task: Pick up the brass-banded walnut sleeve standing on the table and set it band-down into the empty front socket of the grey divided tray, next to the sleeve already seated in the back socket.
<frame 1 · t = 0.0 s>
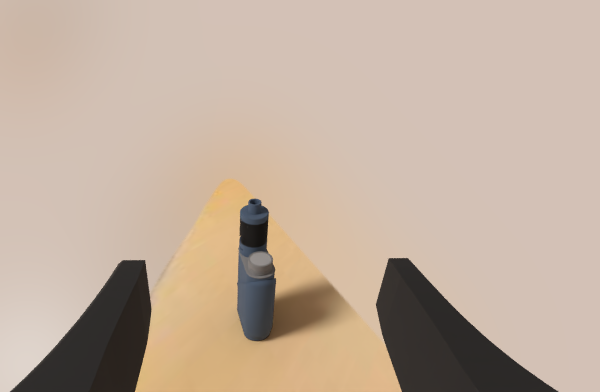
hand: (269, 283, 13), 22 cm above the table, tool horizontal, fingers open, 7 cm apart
vaping device: (253, 323, 42), on the table
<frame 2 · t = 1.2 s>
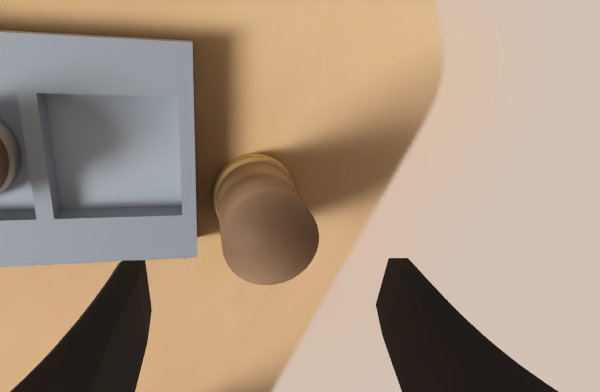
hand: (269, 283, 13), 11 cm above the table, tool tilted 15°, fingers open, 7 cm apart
sleeve: (253, 192, 24), on the table
grey divided tray: (51, 146, 21), on the table
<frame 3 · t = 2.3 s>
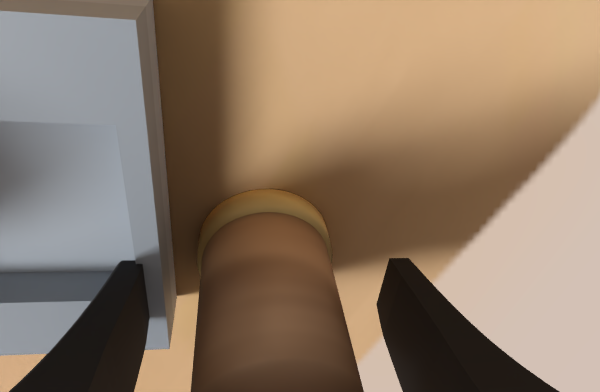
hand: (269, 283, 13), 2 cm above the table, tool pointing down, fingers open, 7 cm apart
sleeve: (264, 242, 15), on the table
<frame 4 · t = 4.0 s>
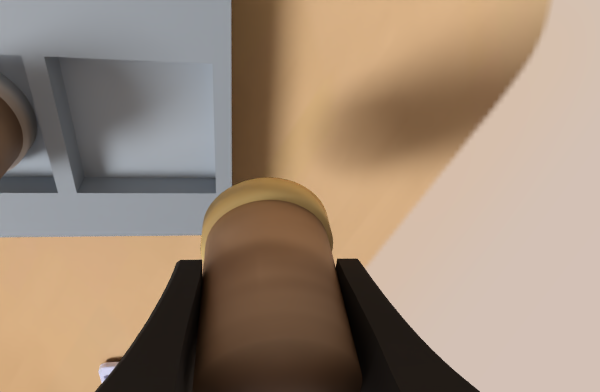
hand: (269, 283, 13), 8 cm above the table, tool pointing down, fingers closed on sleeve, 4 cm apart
sleeve: (266, 230, 15), point 6 cm above the table, touching gripper
grey divided tray: (69, 106, 18), on the table
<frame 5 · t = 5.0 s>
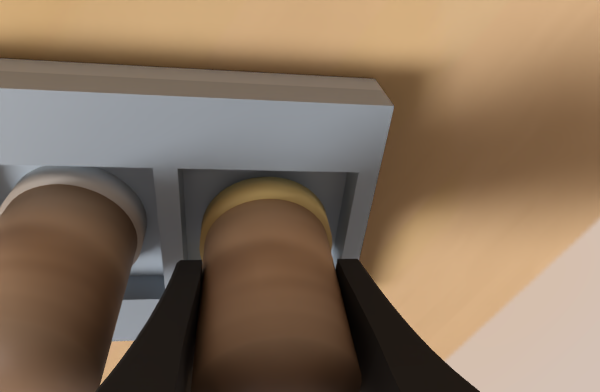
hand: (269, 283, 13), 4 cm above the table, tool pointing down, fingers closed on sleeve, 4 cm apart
sleeve: (265, 229, 15), point 2 cm above the table, touching gripper
grey divided tray: (178, 201, 16), on the table
sleeve seated: (80, 217, 15), point 1 cm above the table, touching grey divided tray
when the fingers open (3 cm above the table, at t = 5.7 s): sleeve stays where it is, resting on grey divided tray.
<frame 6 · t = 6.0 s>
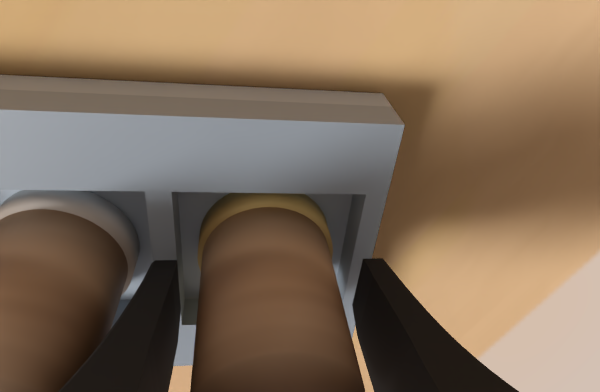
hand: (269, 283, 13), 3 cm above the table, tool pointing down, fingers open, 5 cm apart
sleeve: (264, 237, 15), point 1 cm above the table, touching grey divided tray
grey divided tray: (173, 221, 16), on the table
sleeve seated: (68, 241, 14), point 1 cm above the table, touching grey divided tray, gripper
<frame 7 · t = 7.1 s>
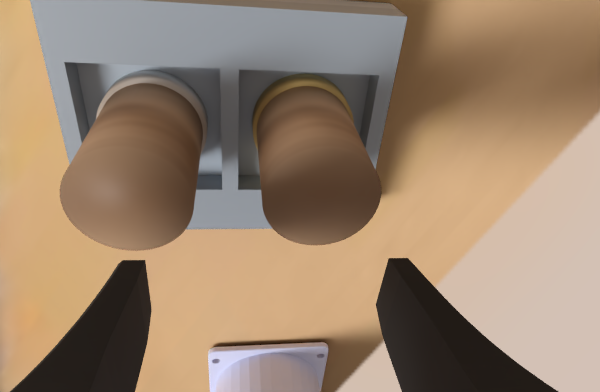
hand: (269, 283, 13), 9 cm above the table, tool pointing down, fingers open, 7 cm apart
sleeve: (301, 120, 20), point 1 cm above the table, touching grey divided tray
grey divided tray: (230, 111, 20), on the table
sleeve seated: (156, 119, 19), point 1 cm above the table, touching grey divided tray
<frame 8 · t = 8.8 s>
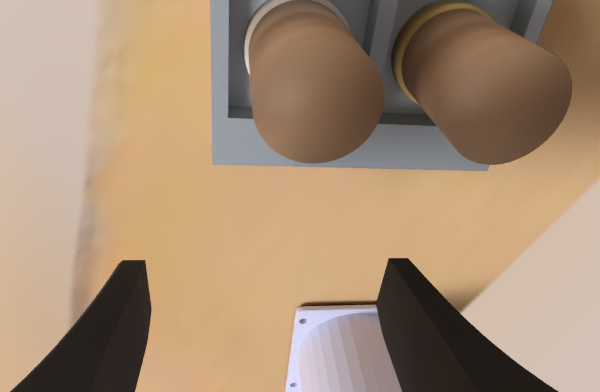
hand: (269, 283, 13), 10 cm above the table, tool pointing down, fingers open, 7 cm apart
sleeve: (440, 52, 19), point 1 cm above the table, touching grey divided tray
grey divided tray: (364, 44, 20), on the table
sleeve seated: (296, 46, 18), point 1 cm above the table, touching grey divided tray
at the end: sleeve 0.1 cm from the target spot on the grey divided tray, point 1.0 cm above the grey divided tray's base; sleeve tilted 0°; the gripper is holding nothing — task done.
